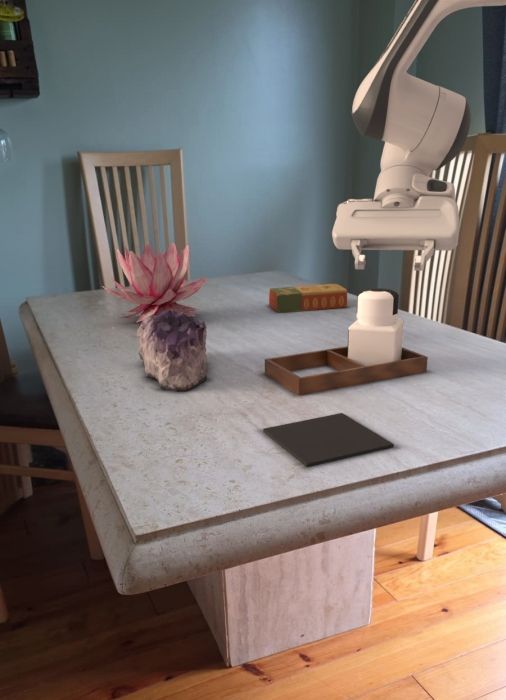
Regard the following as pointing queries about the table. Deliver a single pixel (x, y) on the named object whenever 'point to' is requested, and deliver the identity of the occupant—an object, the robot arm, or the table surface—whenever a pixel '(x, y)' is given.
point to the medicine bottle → (376, 328)
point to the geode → (173, 350)
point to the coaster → (326, 439)
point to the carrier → (338, 370)
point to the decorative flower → (157, 282)
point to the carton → (307, 297)
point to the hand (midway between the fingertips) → (388, 267)
